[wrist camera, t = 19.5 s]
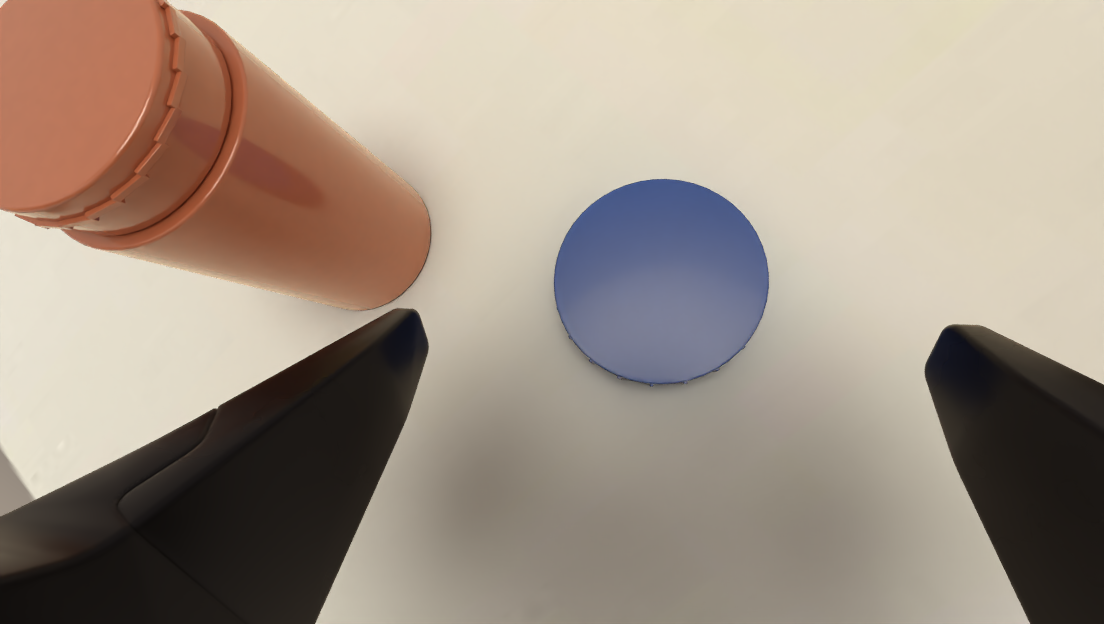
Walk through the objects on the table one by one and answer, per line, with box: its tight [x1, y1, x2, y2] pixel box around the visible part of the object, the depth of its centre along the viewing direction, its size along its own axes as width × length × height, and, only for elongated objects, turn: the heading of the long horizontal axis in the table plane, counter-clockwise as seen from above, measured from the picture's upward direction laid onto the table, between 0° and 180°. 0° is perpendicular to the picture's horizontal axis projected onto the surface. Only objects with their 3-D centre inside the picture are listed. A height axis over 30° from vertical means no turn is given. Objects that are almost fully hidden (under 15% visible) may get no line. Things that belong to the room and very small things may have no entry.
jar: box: [0, 0, 431, 311], centre depth 14 cm, size 6×6×11 cm
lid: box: [554, 179, 769, 386], centre depth 16 cm, size 7×7×2 cm
